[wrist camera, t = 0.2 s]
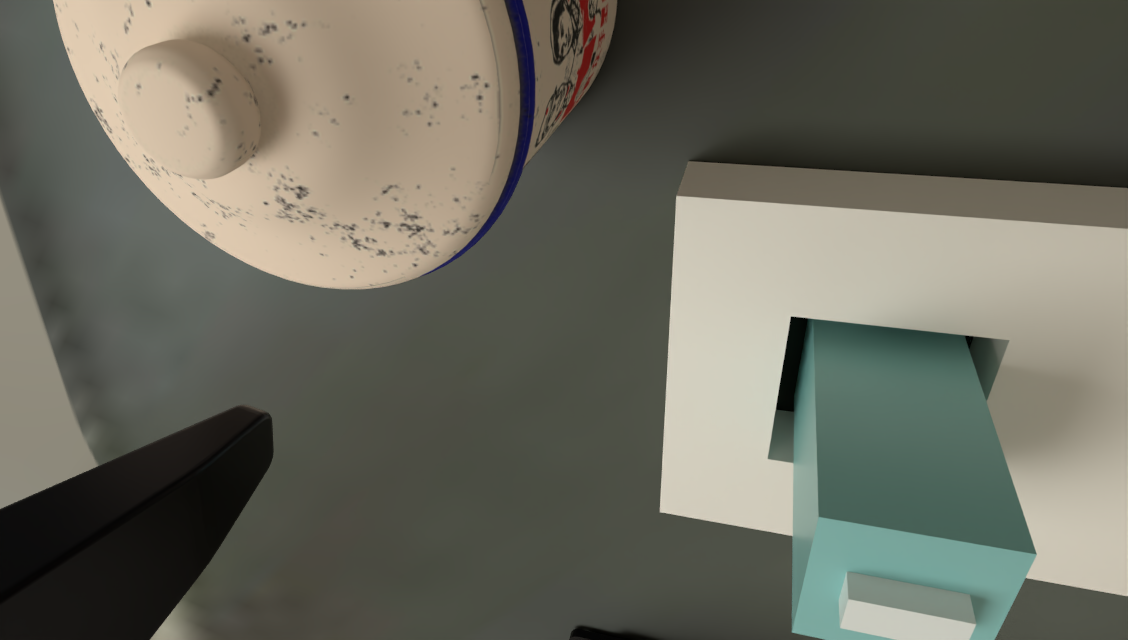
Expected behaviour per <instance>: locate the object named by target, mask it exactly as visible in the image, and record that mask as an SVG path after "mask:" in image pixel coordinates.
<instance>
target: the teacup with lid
mask: <svg viewBox="0 0 1128 640" xmlns="http://www.w3.org/2000/svg"><path fill="white" fill-rule="evenodd" d="M53 1H54V6H55V12H56V17H57V20H58V24H59V28H60V31H61V35H62V39H63V42H64V45H65V48H66V51H67V53H68V56H69V59H70V62H71V65H72V67H73V69H74V72H75V74H76V76H77V79H78V81H79V83H80V86H81V88H82V90H83V92H84V94H85V96H86V98H87V100H88V102H89V104H90V106H91V108H92V110H93V111H94V113H95V115H96V117H97V118H98V120H99V122H100V123H101V125H102V127H103V129H104V130H105V132H106V133H107V135H108V136H109V138H110V139H111V141H112V142H113V144H114V145H115V147H116V148H117V150H118V151H119V152H120V154H121V155H122V156H123V158H124V159H125V160H126V162H127V163H128V164H129V166H130V167H131V168H132V170H133V171H134V172H135V173H136V174H137V175H138V177H139V178H140V179H141V180H142V181H143V182H144V184H145V185H146V186H147V187H148V188H149V189H150V190H151V191H152V192H153V193H154V194H155V195H156V196H157V197H158V198H159V200H160V201H161V202H162V203H163V204H165V205H166V206H167V207H168V208H169V209H170V210H171V211H172V212H173V213H174V214H175V215H176V216H177V217H179V218H180V219H181V220H182V221H184V222H185V223H186V224H187V225H188V226H190V227H191V228H192V229H193V230H194V231H196V232H197V233H199V234H200V235H201V236H203V237H204V238H206V239H207V240H208V241H210V242H211V243H213V244H214V245H216V246H217V247H219V248H221V249H222V250H224V251H225V252H227V253H229V254H230V255H232V256H234V257H236V258H238V259H240V260H242V261H243V262H245V263H247V264H249V265H252V266H254V267H256V268H258V269H261V270H263V271H265V272H267V273H270V274H273V275H276V276H278V277H281V278H284V279H287V280H291V281H295V282H298V283H302V284H306V285H312V286H317V287H324V288H334V289H369V288H378V287H385V286H390V285H395V284H399V283H402V282H405V281H408V280H411V279H414V278H417V277H420V276H423V275H426V274H429V273H431V272H433V271H435V270H437V269H439V268H441V267H444V266H445V265H447V264H449V263H450V262H452V261H453V260H455V259H457V258H458V257H460V256H461V255H462V254H464V253H465V252H466V251H467V250H469V249H470V248H471V247H472V246H473V245H475V244H476V243H477V242H478V241H479V240H480V239H481V238H482V237H483V236H484V235H485V233H486V232H487V231H488V230H489V229H490V228H491V227H492V225H493V224H494V223H495V221H496V220H497V219H498V217H499V216H500V215H501V213H502V212H503V210H504V208H505V206H506V205H507V203H508V201H509V200H510V198H511V196H512V194H513V192H514V190H515V187H516V185H517V183H518V181H519V178H520V176H521V173H522V170H523V168H524V167H525V166H526V165H527V163H528V162H529V161H530V160H531V159H532V157H533V156H534V155H535V154H536V153H537V151H538V150H539V149H540V148H541V147H542V145H543V144H544V143H545V142H546V141H547V139H548V138H549V137H550V136H551V135H552V133H553V132H554V131H555V130H556V129H557V127H558V126H559V125H560V124H561V123H562V121H563V120H564V119H565V118H566V117H567V115H568V114H569V113H570V112H571V111H572V109H573V108H574V107H575V106H576V105H577V103H578V102H579V101H580V100H581V98H582V97H583V96H584V94H585V93H586V92H587V90H588V89H589V88H590V86H591V84H592V83H593V81H594V79H595V78H596V76H597V74H598V72H599V70H600V68H601V66H602V64H603V62H604V59H605V56H606V53H607V51H608V48H609V45H610V41H611V37H612V33H613V29H614V24H615V17H616V10H617V0H53Z"/></svg>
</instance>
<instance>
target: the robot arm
mask: <svg viewBox="0 0 1128 640" xmlns="http://www.w3.org/2000/svg"><path fill="white" fill-rule="evenodd" d="M273 452H274V450H273V428H272V418H271V416H270V414H269V413H267V412H265V411H263V410H260V409H257V408H254V407H252V406H249V405H239V406H236V407H233V408H231V409H229V410H226V411H224V412H222V413H219V414H217V415H215V416H213V417H210V418H208V419H206V420H203V421H201V422H199V423H196V424H194V425H192V426H190V427H187V428H185V429H183V430H180V431H178V432H176V433H174V434H171V435H169V436H167V437H164V438H162V439H160V440H157V441H155V442H153V443H151V444H148V445H146V446H144V447H141V448H139V449H137V450H134V451H132V452H130V453H128V454H125V455H123V456H121V457H118V458H116V459H114V460H112V461H109V462H107V463H105V464H102V465H100V466H98V467H95V468H93V469H91V470H89V471H86V472H84V473H82V474H79V475H77V476H75V477H72V478H70V479H68V480H66V481H63V482H61V483H59V484H56V485H54V486H52V487H50V488H47V489H45V490H43V491H40V492H38V493H36V494H33V495H31V496H29V497H27V498H25V499H22V500H20V501H18V502H15V503H13V504H11V505H8V506H6V507H4V508H1V509H0V640H150V639H151V637H152V636H153V635H154V634H155V632H156V631H157V630H158V628H159V627H160V626H161V625H162V623H163V622H164V621H165V619H166V618H167V617H168V616H169V614H170V613H171V612H172V610H173V609H174V608H175V607H176V605H177V604H178V603H179V601H180V600H181V599H182V598H183V596H184V595H185V594H186V592H187V591H188V590H189V589H190V587H191V586H192V585H193V584H194V582H195V581H196V580H197V578H198V577H199V576H200V574H201V573H202V572H203V570H204V569H205V568H206V566H207V565H208V564H209V562H210V561H211V559H212V558H213V556H214V555H215V553H216V552H217V550H218V549H219V547H220V546H221V544H222V542H223V541H224V539H225V538H226V536H227V534H228V533H229V531H230V529H231V528H232V526H233V525H234V523H235V521H236V520H237V518H238V517H239V515H240V513H241V512H242V510H243V509H244V507H245V505H246V504H247V502H248V501H249V499H250V497H251V496H252V494H253V493H254V491H255V489H256V488H257V486H258V484H259V483H260V481H261V480H262V478H263V476H264V475H265V473H266V472H267V470H268V468H269V466H270V464H271V461H272V458H273ZM569 640H626V639H621V638H617V637H612V636H608V635H603V634H599V633H594V632H590V631H586V630H581V629H575V630H573V631H572V632H571V636H570V639H569Z"/></svg>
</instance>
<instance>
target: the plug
mask: <svg viewBox="0 0 1128 640" xmlns="http://www.w3.org/2000/svg"><path fill="white" fill-rule="evenodd" d="M1036 555H1037V553H1036V550H1035V547H1034V544H1033V541H1032V538H1031V535H1030V532H1029V529H1028V526H1027V523H1026V520H1025V517H1024V514H1023V511H1022V508H1021V505H1020V502H1019V499H1018V496H1017V493H1016V490H1015V487H1014V484H1013V481H1012V478H1011V475H1010V472H1009V469H1008V466H1007V463H1006V460H1005V457H1004V454H1003V451H1002V448H1001V444H1000V441H999V438H998V435H997V432H996V429H995V426H994V423H993V420H992V417H991V414H990V411H989V408H988V405H987V402H986V399H985V396H984V393H983V390H982V387H981V384H980V381H979V378H978V375H977V372H976V369H975V366H974V363H973V360H972V357H971V354H970V351H969V348H968V345H967V342H966V339H965V336H964V335H957V334H948V333H939V332H930V331H921V330H911V329H902V328H893V327H884V326H875V325H866V324H856V323H847V322H838V321H829V320H820V319H811V318H808V321H807V326H806V332H805V337H804V343H803V348H802V354H801V359H800V365H799V371H798V376H797V382H796V387H795V393H794V457H793V560H792V633H797V634H802V635H806V636H811V637H816V638H821V639H825V640H995V638H996V636H997V634H998V632H999V630H1000V628H1001V626H1002V624H1003V622H1004V620H1005V618H1006V616H1007V614H1008V612H1009V610H1010V608H1011V606H1012V604H1013V602H1014V600H1015V598H1016V596H1017V594H1018V592H1019V590H1020V588H1021V586H1022V584H1023V582H1024V580H1025V578H1026V576H1027V574H1028V572H1029V570H1030V568H1031V566H1032V564H1033V562H1034V559H1035V557H1036Z"/></svg>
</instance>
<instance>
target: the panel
mask: <svg viewBox="0 0 1128 640" xmlns="http://www.w3.org/2000/svg"><path fill="white" fill-rule="evenodd" d="M791 316H792V317H802V318H811V319H820V320H829V321H838V322H847V323H856V324H866V325H875V326H884V327H893V328H902V329H911V330H921V331H930V332H939V333H948V334H957V335H966V336H974V337H973V340H972V343H971V346H970V349H969V351H970V354H971V357H972V360H973V363H974V366H975V369H976V372H977V375H978V378H979V381H980V384H981V387H982V390H983V393H984V396H985V399H986V402H987V405H988V408H989V411H990V414H991V417H992V420H993V423H994V426H995V429H996V432H997V435H998V438H999V441H1000V444H1001V448H1002V451H1003V454H1004V457H1005V460H1006V463H1007V466H1008V469H1009V472H1010V475H1011V478H1012V481H1013V484H1014V487H1015V490H1016V493H1017V496H1018V499H1019V502H1020V505H1021V508H1022V511H1023V514H1024V517H1025V520H1026V523H1027V526H1028V529H1029V532H1030V535H1031V538H1032V541H1033V544H1034V547H1035V550H1036V553H1037V555H1036V557H1035V559H1034V562H1033V564H1032V566H1031V568H1030V570H1029V572H1028V574H1027V576H1026V578H1029V579H1035V580H1040V581H1046V582H1052V583H1057V584H1063V585H1068V586H1074V587H1079V588H1085V589H1090V590H1096V591H1102V592H1107V593H1113V594H1118V595H1124V596H1128V188H1118V187H1102V186H1085V185H1069V184H1053V183H1036V182H1020V181H1004V180H987V179H971V178H955V177H938V176H922V175H906V174H889V173H873V172H857V171H840V170H824V169H808V168H791V167H775V166H759V165H742V164H726V163H710V162H693V161H688V164H687V167H686V170H685V173H684V176H683V178H682V181H681V184H680V187H679V190H678V193H677V196H676V215H675V234H674V253H673V272H672V291H671V310H670V329H669V348H668V367H667V386H666V405H665V424H664V443H663V462H662V481H661V500H660V512H663V513H668V514H674V515H679V516H685V517H690V518H696V519H701V520H707V521H713V522H718V523H724V524H729V525H735V526H740V527H746V528H751V529H757V530H763V531H768V532H774V533H779V534H785V535H790V536H793V457H794V412H790V411H783V410H776V404H777V398H778V392H779V386H780V380H781V374H782V368H783V361H784V355H785V349H786V343H787V337H788V331H789V325H790V319H791Z"/></svg>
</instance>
